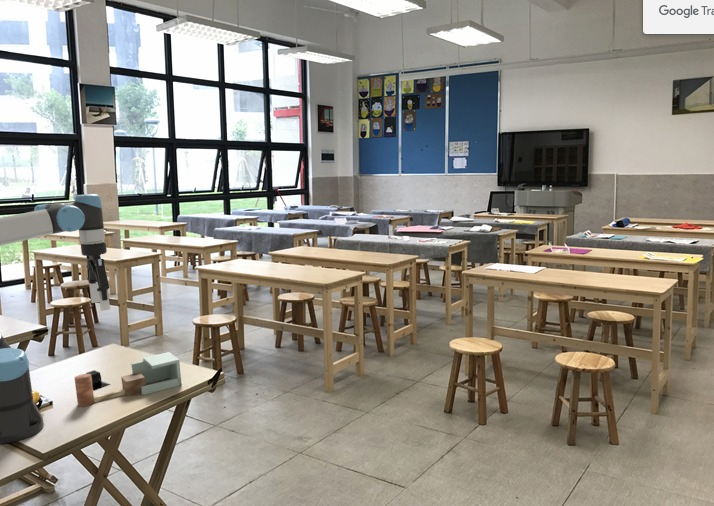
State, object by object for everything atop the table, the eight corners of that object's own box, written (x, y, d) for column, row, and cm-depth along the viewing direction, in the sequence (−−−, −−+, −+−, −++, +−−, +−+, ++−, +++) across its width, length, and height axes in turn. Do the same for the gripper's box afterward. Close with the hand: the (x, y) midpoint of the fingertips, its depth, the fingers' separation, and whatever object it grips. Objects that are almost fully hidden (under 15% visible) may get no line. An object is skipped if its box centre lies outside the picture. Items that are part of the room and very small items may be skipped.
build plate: (115, 386, 206) (113, 372, 205) (93, 394, 200) (92, 380, 199) (94, 378, 214) (92, 365, 213) (73, 386, 208) (71, 372, 207)
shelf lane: (142, 395, 196) (139, 368, 194) (133, 385, 204) (131, 360, 203) (181, 384, 203) (179, 359, 202) (171, 376, 211) (169, 351, 210)
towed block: (79, 408, 187) (76, 381, 186) (76, 402, 192) (72, 375, 190) (146, 391, 199) (143, 365, 197) (141, 386, 203) (138, 360, 202)
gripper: (114, 244, 186) (122, 311, 190) (96, 237, 206) (103, 297, 210) (88, 247, 182) (96, 315, 185) (73, 239, 202) (80, 301, 206)
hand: (100, 306), depth 198 cm, fingers open, 13 cm apart
